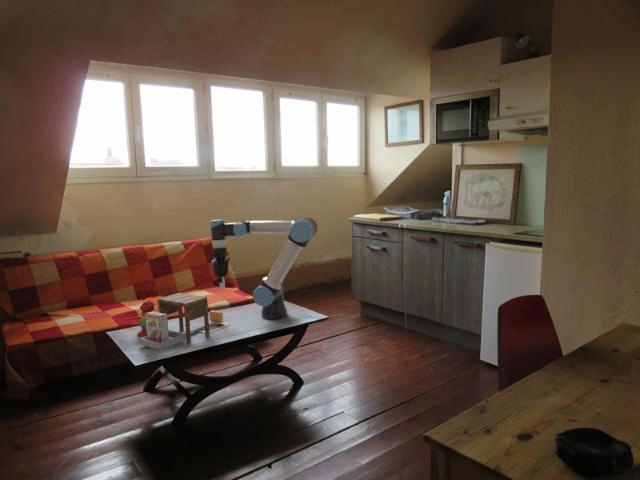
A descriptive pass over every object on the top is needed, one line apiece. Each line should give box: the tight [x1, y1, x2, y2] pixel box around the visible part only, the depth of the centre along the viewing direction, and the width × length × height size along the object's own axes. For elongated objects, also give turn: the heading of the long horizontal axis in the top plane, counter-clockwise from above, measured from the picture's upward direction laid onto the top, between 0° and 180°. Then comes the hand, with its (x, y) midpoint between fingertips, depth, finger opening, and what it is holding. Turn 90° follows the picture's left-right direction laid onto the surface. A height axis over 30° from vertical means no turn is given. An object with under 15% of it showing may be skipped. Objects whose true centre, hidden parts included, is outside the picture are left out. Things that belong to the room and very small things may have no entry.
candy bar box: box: [145, 310, 170, 343], centre depth 221 cm, size 11×5×16 cm, turn 57°
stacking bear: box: [137, 299, 156, 337], centre depth 242 cm, size 11×10×18 cm
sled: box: [139, 309, 224, 351], centre depth 236 cm, size 15×45×6 cm, turn 148°
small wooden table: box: [157, 292, 211, 345], centre depth 234 cm, size 21×14×20 cm, turn 58°
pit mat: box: [190, 319, 231, 334], centre depth 249 cm, size 16×17×1 cm
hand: (222, 288), depth 257 cm, fingers closed
